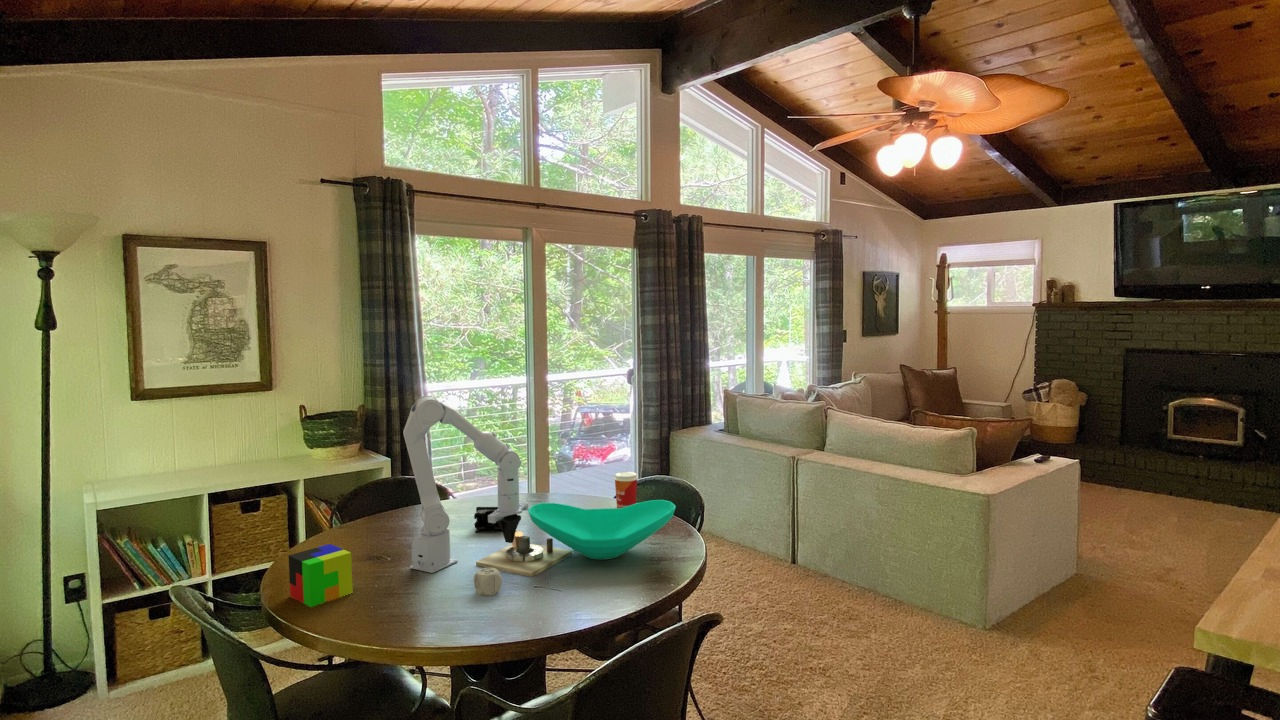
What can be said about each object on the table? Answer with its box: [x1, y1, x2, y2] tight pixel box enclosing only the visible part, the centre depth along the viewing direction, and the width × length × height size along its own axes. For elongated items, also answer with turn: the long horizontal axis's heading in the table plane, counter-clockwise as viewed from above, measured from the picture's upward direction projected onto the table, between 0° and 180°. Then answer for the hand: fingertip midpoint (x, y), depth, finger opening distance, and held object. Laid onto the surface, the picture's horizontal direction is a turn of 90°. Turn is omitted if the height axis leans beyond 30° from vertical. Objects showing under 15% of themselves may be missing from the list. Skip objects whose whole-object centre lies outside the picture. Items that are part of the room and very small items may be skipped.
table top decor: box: [527, 499, 677, 560], centre depth 190 cm, size 40×28×13 cm
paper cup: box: [613, 471, 639, 508], centre depth 224 cm, size 8×8×14 cm
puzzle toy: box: [288, 543, 354, 608], centre depth 166 cm, size 10×10×10 cm
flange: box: [506, 530, 543, 562], centre depth 190 cm, size 14×10×4 cm
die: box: [473, 567, 503, 597], centre depth 167 cm, size 5×5×5 cm
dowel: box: [546, 537, 554, 553], centre depth 191 cm, size 2×2×4 cm
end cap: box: [473, 506, 503, 534], centre depth 214 cm, size 10×7×7 cm
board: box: [475, 535, 573, 578], centre depth 188 cm, size 18×18×6 cm
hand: (509, 542), depth 193 cm, fingers closed
